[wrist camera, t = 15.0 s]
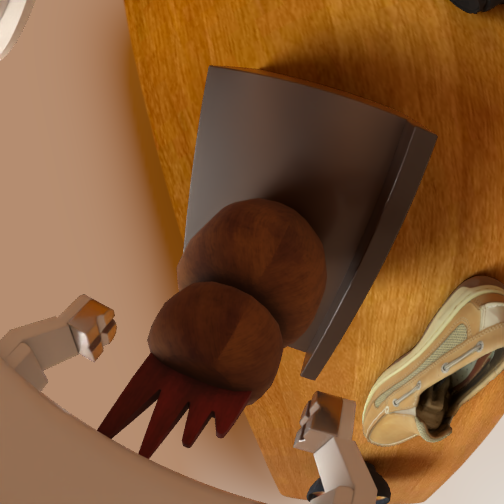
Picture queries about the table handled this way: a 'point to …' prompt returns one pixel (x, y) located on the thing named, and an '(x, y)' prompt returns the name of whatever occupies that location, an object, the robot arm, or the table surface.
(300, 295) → the wooden figurine
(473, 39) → the table surface
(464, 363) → the boat shoe
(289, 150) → the display shelf
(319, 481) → the bowl
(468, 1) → the film camera
